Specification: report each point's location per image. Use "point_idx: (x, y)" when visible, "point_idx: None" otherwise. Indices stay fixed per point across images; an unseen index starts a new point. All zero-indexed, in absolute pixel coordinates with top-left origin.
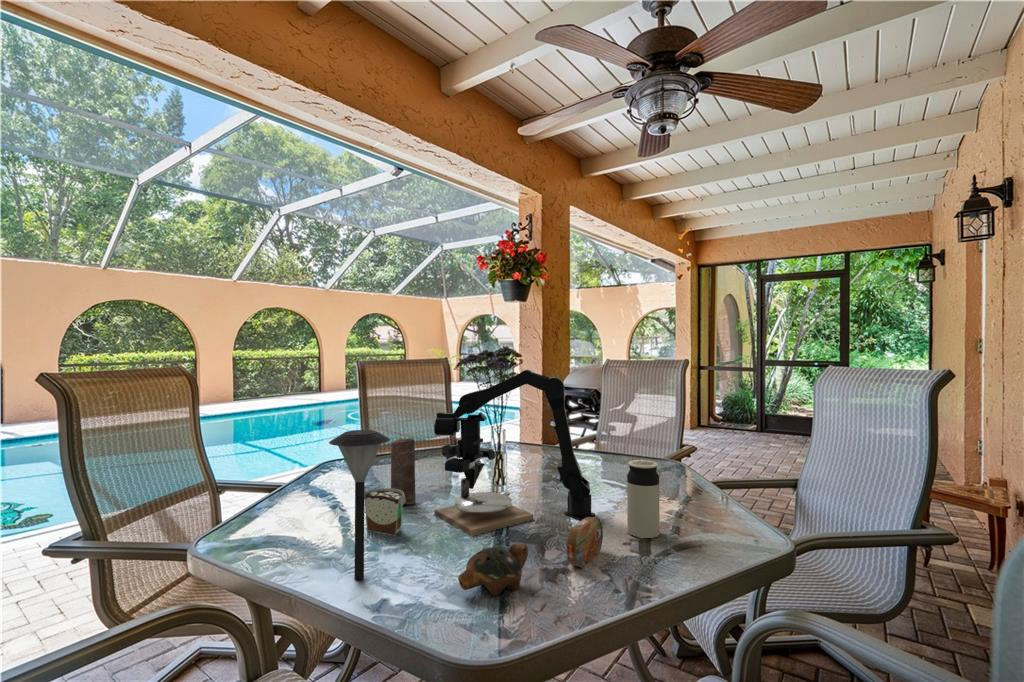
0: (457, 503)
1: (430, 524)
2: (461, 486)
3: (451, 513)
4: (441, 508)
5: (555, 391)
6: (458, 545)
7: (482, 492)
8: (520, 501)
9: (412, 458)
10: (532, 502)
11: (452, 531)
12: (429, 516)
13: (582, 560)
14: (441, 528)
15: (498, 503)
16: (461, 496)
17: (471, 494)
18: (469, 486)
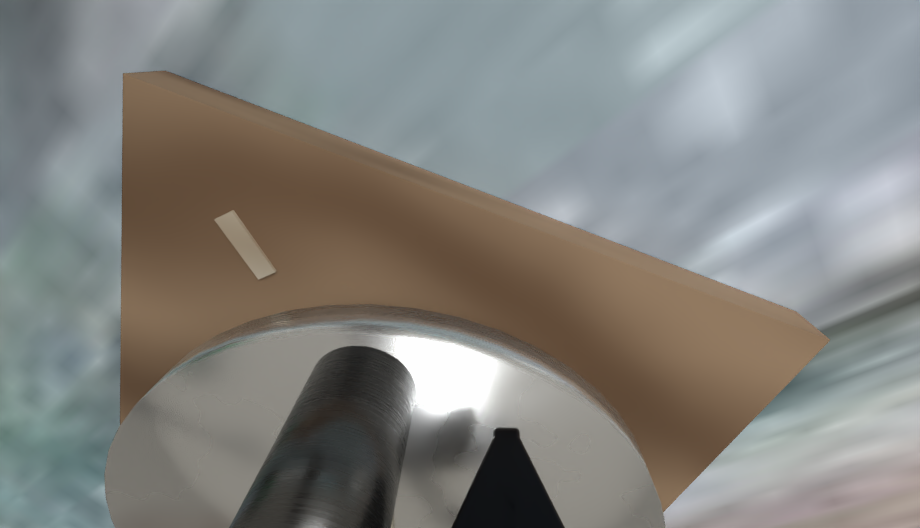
0: (129, 447)
1: (12, 212)
2: (246, 497)
3: (197, 296)
4: (212, 112)
5: None
6: (20, 511)
7: (616, 454)
8: (874, 463)
9: None
10: (864, 523)
11: (90, 406)
12: (100, 48)
13: None
14: (52, 328)
15: None
16: (309, 376)
17: (478, 401)
18: (485, 458)
